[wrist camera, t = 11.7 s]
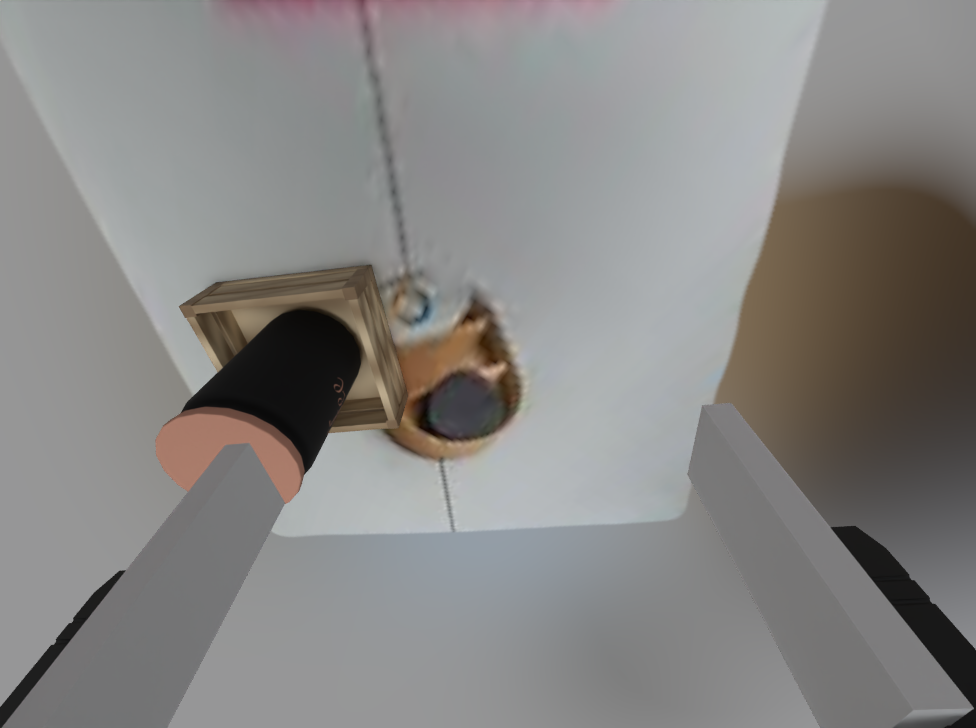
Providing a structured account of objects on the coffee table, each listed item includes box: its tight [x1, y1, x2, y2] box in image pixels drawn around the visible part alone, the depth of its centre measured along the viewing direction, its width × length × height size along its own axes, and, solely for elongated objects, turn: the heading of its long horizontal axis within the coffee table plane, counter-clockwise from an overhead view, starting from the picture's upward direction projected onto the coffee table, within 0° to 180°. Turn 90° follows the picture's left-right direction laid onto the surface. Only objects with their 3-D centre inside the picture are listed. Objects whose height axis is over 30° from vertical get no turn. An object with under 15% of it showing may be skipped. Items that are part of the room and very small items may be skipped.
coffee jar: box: [156, 310, 361, 504], centre depth 38 cm, size 11×11×18 cm
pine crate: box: [179, 265, 408, 433], centre depth 44 cm, size 17×17×6 cm
